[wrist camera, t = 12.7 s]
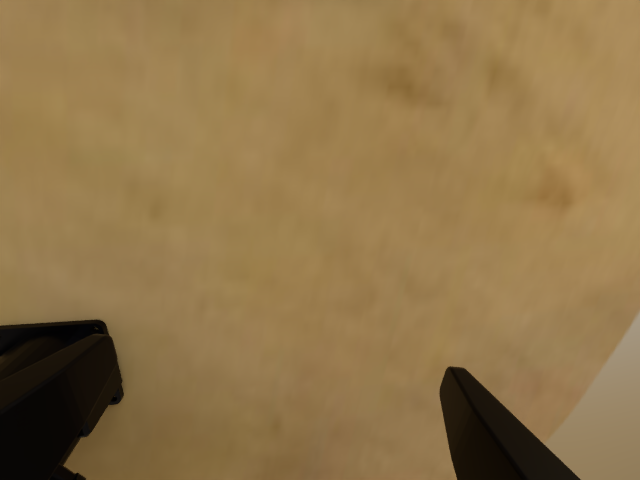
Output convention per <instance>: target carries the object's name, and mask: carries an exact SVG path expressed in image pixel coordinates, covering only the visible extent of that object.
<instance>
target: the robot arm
mask: <svg viewBox="0 0 640 480" xmlns="http://www.w3.org/2000/svg"><path fill="white" fill-rule="evenodd" d="M94 327H97V328H98V329H99V330H96V329H95V328H94ZM121 383H122V378H121V374H120V370H119V366H118V362H117V355H116V351H115V347H114V343H113V340H112V338H111V336H109V334H108V331H107V327H106V324H105V323H104V322H103V321H101V320H84V321H68V322H52V323H36V324H21V325H5V326H0V480H86V478H85V477H83V476H82V475H80V474H79V473H76V474H75V473H73V472H72V471H70V470H69V469H67V468H66V467H64V466H63V465H64V463H65V462H66V460H67V459H68V457H69V456H70V454H71V452H72V451H73V449H74V448H75V446H76V445H77V443H78V441H79V440H80V438H81V437H87V436H88V435H89V434H90V433H91V432H92V431H93V429H94V427H95V426H96V424H97V422H98V421H99V419H100V417H101V416H102V414H103V413H104V411H105V409H106V408H107V406H108V405H114V404H118V403H119V402H120V401H121V399H122V398H123V396H124V393H123V389H122V385H121ZM114 396H115V397H114ZM440 401H441V406H442V411H443V417H444V422H445V428H446V433H447V438H448V444H449V449H450V454H451V458H452V462H453V466H454V470H455V473H456V477H457V480H580V478H578V477H577V476H576V475H575V474H574V473H573V472H572V471H571V470H570V469H569V468H568V467H567V466H566V465H565V464H564V463H563V462H562V461H561V460H560V459H559V458H558V457H556V456H555V454H553V453H552V452H551V451H550V450H549V449H548V448H547V447H546V446H545V445H544V444H543V443H542V442H541V441H540V440H539V439H538V438H537V437H536V436H535V435H534V434H533V433H532V432H531V431H530V430H528V429H527V428H526V427H525V426H524V425H523V424H522V423H521V422H520V421H519V420H518V419H517V418H516V417H515V416H514V415H513V414H512V413H511V412H510V411H509V410H508V409H507V408H506V407H505V406H503V405H502V404H501V403H500V402H499V401H498V400H497V399H496V398H495V397H494V396H493V395H492V394H491V393H490V392H489V391H488V390H487V389H486V388H485V387H484V386H483V385H482V384H481V383H480V382H479V381H477V380H476V379H475V378H474V377H473V376H472V375H471V374H470V373H469V372H468V371H467V370H466V369H464V368H461V367H451V366H450V367H448V368H447V369H446V371H445V374H444V377H443V380H442V383H441V386H440Z"/></svg>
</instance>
